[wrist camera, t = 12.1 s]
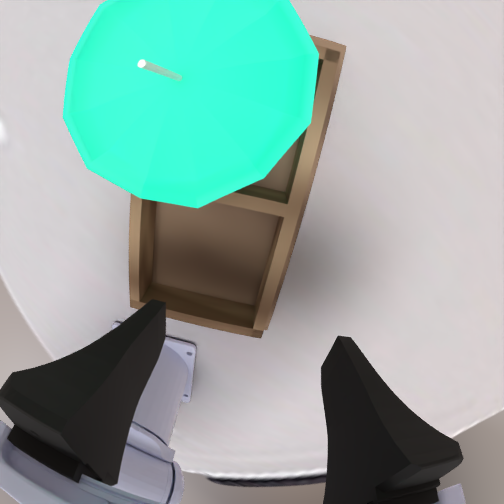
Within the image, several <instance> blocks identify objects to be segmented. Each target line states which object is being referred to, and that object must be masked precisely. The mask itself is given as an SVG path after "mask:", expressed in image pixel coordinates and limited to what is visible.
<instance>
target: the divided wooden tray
mask: <svg viewBox="0 0 504 504" xmlns="http://www.w3.org/2000/svg"><path fill="white" fill-rule="evenodd" d="M309 36H310V37H311V39H312V41H313V43H314V45H315V47H316V49H317V51H318V53H319V59H318V68H317V77H316V86H315V94H314V102H313V110H312V118H311V124H310V125H309V126H308V127H307V128H306V129H305V130H304V132H303V133H302V134H301V135H300V136H299V137H298V139H297V140H296V141H295V142H294V143H293V144H292V146H291V147H290V148H289V149H288V150H287V151H286V153H285V154H284V155H283V156H282V157H281V159H280V160H279V161H278V162H277V163H276V164H275V166H274V167H273V168H272V169H271V170H270V172H269V173H268V174H267V175H266V177H265V178H264V179H261V180H259V181H257V182H254V183H252V184H250V185H248V186H245V187H243V188H241V189H239V190H236V191H234V192H232V193H230V194H228V195H225V196H223V197H221V198H219V199H217V200H215V201H213V202H210V203H208V204H206V205H204V206H202V207H200V208H193V207H187V206H182V205H176V204H170V203H165V202H159V201H153V200H147V199H141V198H139V197H137V196H135V195H133V194H132V193H131V203H130V224H129V289H130V307H132V308H135V309H140V308H141V307H143V306H144V305H145V304H146V303H147V302H149V301H150V300H151V299H154V300H158V301H162V302H166V317H168V318H171V319H175V320H179V321H183V322H187V323H191V324H195V325H200V326H204V327H208V328H213V329H217V330H222V331H226V332H231V333H236V334H241V335H246V336H251V337H256V338H261V337H262V334H263V331H264V330H267V329H268V326H269V323H270V320H271V317H272V314H273V311H274V308H275V305H276V302H277V299H278V296H279V293H280V290H281V287H282V284H283V280H284V277H285V274H286V271H287V268H288V265H289V261H290V258H291V255H292V252H293V248H294V245H295V242H296V238H297V235H298V232H299V228H300V225H301V222H302V218H303V215H304V211H305V208H306V204H307V201H308V197H309V194H310V190H311V187H312V183H313V179H314V176H315V172H316V168H317V165H318V161H319V157H320V154H321V150H322V146H323V142H324V138H325V134H326V131H327V127H328V123H329V119H330V115H331V111H332V107H333V102H334V98H335V94H336V90H337V86H338V81H339V77H340V73H341V68H342V64H343V59H344V55H345V50H346V46H345V45H342V44H339V43H335V42H332V41H329V40H326V39H322V38H319V37H315V36H311V35H309Z"/></svg>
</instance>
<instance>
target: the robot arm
mask: <svg viewBox="0 0 504 504" xmlns="http://www.w3.org/2000/svg"><path fill="white" fill-rule="evenodd" d="M165 336H166V302H162V301H158V300H154V299H151V300H150V301H149V302H147V303H146V304H145V305H144V306H143V307H141V308H140V309H139V310H138V311H136V312H135V313H134V314H133V315H132V316H130V317H129V318H128V319H126V320H125V321H124V322H122V323H121V324H120V323H117V322H115V323H113V325H112V330H111V331H110V332H109V333H107V334H106V335H104V336H103V337H101V338H100V339H98V340H96V341H95V342H93V343H91V344H90V345H88V346H86V347H84V348H83V349H81V350H79V351H77V352H75V353H72V354H70V355H68V356H66V357H63V358H61V359H59V360H56V361H53V362H51V363H48V364H45V365H41V366H38V367H35V368H31V369H26V370H22V371H17V372H13V373H12V374H11V375H10V376H9V378H8V379H7V380H6V382H5V384H4V385H3V386H2V388H1V389H0V407H1V408H2V410H3V411H4V412H5V413H6V415H7V416H8V417H9V418H10V419H11V421H12V422H13V423H14V424H15V425H14V427H13V428H12V429H11V428H10V427H8V426H7V425H6V424H5V423H3V422H2V421H1V420H0V488H1V489H2V490H4V491H5V492H6V493H7V494H9V495H10V496H11V497H12V498H14V499H15V500H16V501H17V502H19V503H20V504H180V502H181V499H182V496H183V492H184V477H183V474H182V471H181V468H180V466H179V464H178V463H177V462H175V461H173V458H174V454H175V450H173V449H171V448H169V447H168V446H169V443H170V439H171V435H172V432H173V428H174V424H175V421H176V417H177V413H178V410H179V406H180V403H181V401H182V402H186V403H188V402H190V399H191V390H192V381H193V372H194V363H195V355H196V346H195V345H193V344H191V343H187V342H183V341H179V340H175V339H172V338H168V337H165ZM190 352H191V353H190ZM321 389H322V396H323V403H324V410H325V417H326V425H327V434H328V462H327V477H326V487H325V495H324V501H323V504H466V503H465V498H464V495H463V490H462V486H461V484H460V483H459V484H456V485H454V486H451V487H448V488H446V489H443V490H441V491H439V492H437V489H436V487H438V486H439V485H440V481H439V478H441V477H442V476H444V475H445V474H447V473H448V472H450V471H451V470H453V469H454V468H455V467H457V466H458V465H459V464H460V463H461V462H462V460H463V456H462V452H461V449H460V446H459V443H458V442H456V441H454V440H453V439H451V438H449V437H447V436H446V435H444V434H442V433H441V432H439V431H437V430H436V429H435V428H433V427H432V426H430V425H429V424H427V423H426V422H425V421H423V420H422V419H421V418H420V417H419V416H417V415H416V414H415V413H414V412H413V411H412V410H410V409H409V408H408V407H407V406H406V405H405V404H404V403H403V402H402V401H401V400H400V399H399V398H398V397H397V396H396V395H395V394H394V393H393V391H392V390H391V389H390V388H389V387H388V386H387V384H386V383H385V382H384V381H383V380H382V378H381V377H380V376H379V375H378V373H377V372H376V371H375V369H374V368H373V367H372V365H371V364H370V363H369V361H368V360H367V358H366V357H365V356H364V354H363V353H362V352H361V350H360V349H359V348H358V346H357V345H356V343H355V342H354V341H353V340H352V338H351V337H344V336H337V338H336V340H335V342H334V344H333V346H332V348H331V350H330V352H329V354H328V356H327V357H326V359H325V361H324V363H323V365H322V366H321Z"/></svg>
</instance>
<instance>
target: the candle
mask: <svg viewBox="0 0 504 504" xmlns="http://www.w3.org/2000/svg"><path fill="white" fill-rule="evenodd" d="M318 59H319V53H318V51H317V49H316V47H315V45H314V43H313V41H312V39H311V37H310V36H309V34H308V32H307V30H306V28H305V26H304V25H303V23H302V21H301V19H300V18H299V16H298V14H297V12H296V11H295V9H294V7H293V6H292V4H291V3H290V1H289V0H107V1H105V2H103V3H102V4H100V5H99V7H98V9H97V10H96V12H95V13H94V15H93V17H92V18H91V20H90V22H89V24H88V25H87V27H86V29H85V31H84V32H83V34H82V36H81V38H80V40H79V42H78V44H77V46H76V48H75V50H74V52H73V54H72V56H71V58H70V61H69V67H68V74H67V81H66V89H65V98H64V109H63V119H64V121H65V123H66V125H67V128H68V130H69V132H70V134H71V136H72V138H73V141H74V143H75V145H76V147H77V149H78V151H79V153H80V155H81V157H82V159H83V161H84V163H85V165H86V167H87V169H89V170H91V171H92V172H94V173H96V174H98V175H100V176H101V177H103V178H105V179H107V180H108V181H110V182H112V183H114V184H116V185H117V186H119V187H121V188H123V189H124V190H126V191H128V192H130V193H132V194H133V195H135V196H137V197H139V198H141V199H147V200H153V201H159V202H165V203H170V204H176V205H182V206H187V207H193V208H200V207H202V206H204V205H206V204H208V203H210V202H213V201H215V200H217V199H219V198H221V197H223V196H225V195H228V194H230V193H232V192H234V191H236V190H239V189H241V188H243V187H245V186H248V185H250V184H252V183H254V182H257V181H259V180H261V179H264V178H265V177H266V175H267V174H268V173H269V172H270V170H271V169H272V168H273V167H274V166H275V164H276V163H277V162H278V161H279V160H280V159H281V157H282V156H283V155H284V154H285V153H286V151H287V150H288V149H289V148H290V147H291V146H292V144H293V143H294V142H295V141H296V140H297V139H298V137H299V136H300V135H301V134H302V133H303V132H304V130H305V129H306V128H307V127H308V126H309V125H310V124H311V118H312V110H313V102H314V94H315V86H316V77H317V68H318Z"/></svg>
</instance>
